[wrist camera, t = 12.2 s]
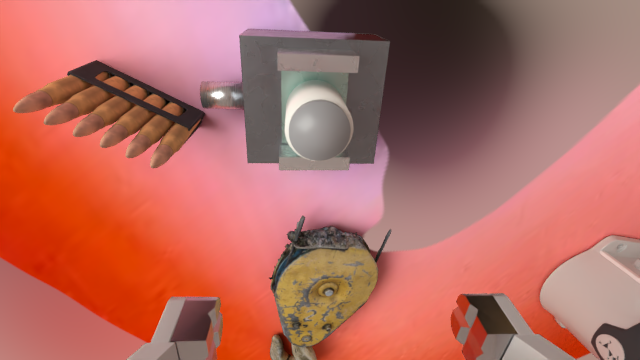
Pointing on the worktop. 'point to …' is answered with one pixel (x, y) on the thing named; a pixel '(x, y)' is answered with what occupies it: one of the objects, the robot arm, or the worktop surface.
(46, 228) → the worktop surface
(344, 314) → the pulley block
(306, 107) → the white domed cylinder
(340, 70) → the motor
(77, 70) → the ammunition clip
